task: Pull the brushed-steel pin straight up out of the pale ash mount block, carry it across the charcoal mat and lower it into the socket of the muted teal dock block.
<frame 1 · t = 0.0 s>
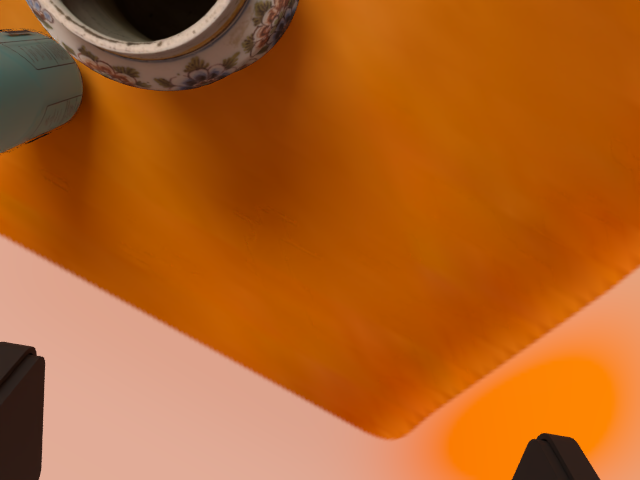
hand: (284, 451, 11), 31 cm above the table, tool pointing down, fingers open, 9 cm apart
beverage bottle: (49, 79, 38), on the table
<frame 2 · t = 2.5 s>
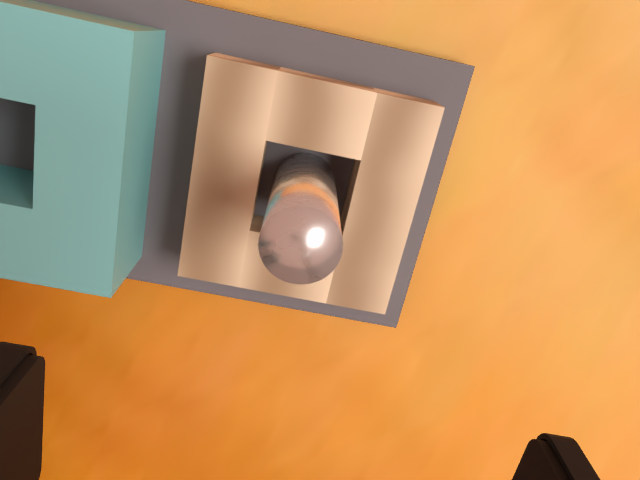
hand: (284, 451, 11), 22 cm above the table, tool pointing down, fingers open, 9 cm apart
teal dock: (34, 127, 28), resting on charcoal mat
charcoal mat: (178, 149, 30), on the table
steel pin: (303, 209, 25), in the ash mount, point 6 cm above the table, touching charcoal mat
ash mount: (304, 189, 28), on the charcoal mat, point 3 cm above the table
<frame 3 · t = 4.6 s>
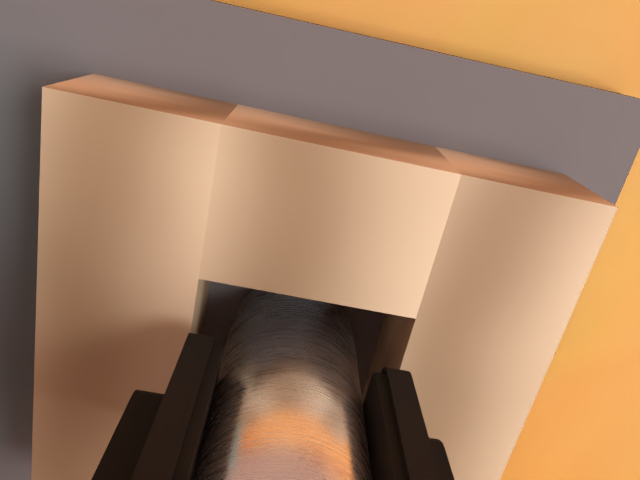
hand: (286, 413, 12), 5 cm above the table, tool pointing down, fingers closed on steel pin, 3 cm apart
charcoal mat: (46, 258, 15), on the table
steel pin: (283, 455, 10), in the ash mount, point 6 cm above the table, touching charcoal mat, gripper
ash mount: (290, 357, 13), on the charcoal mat, point 3 cm above the table
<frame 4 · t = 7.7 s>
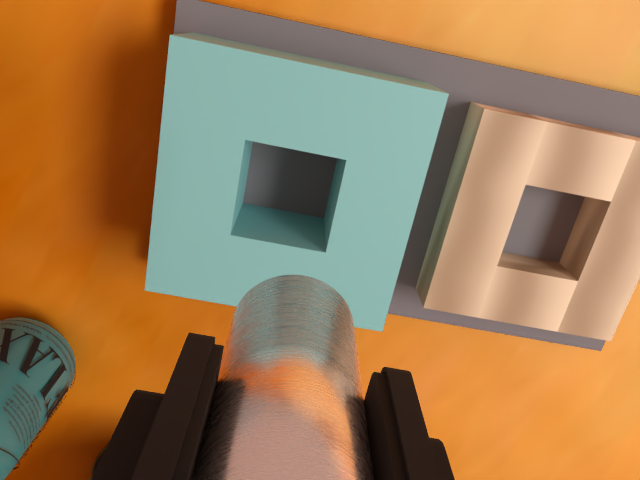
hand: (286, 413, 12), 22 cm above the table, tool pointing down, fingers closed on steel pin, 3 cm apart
teal dock: (291, 171, 30), resting on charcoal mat
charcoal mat: (411, 187, 32), on the table
beverage bottle: (38, 344, 36), on the table
steel pin: (285, 453, 10), point 23 cm above the table, touching gripper
ash mount: (543, 226, 30), on the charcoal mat, point 2 cm above the table
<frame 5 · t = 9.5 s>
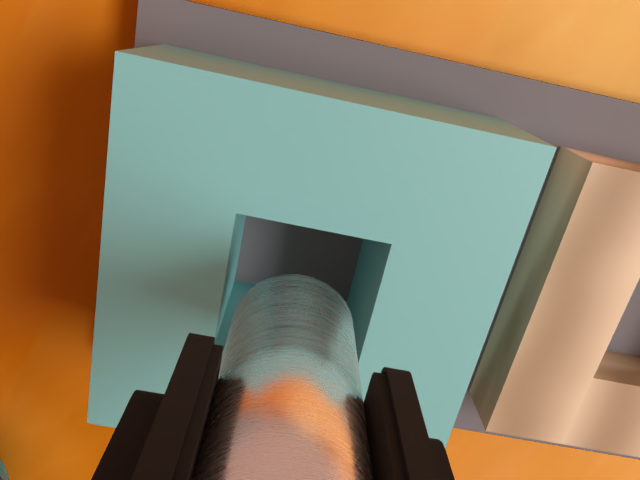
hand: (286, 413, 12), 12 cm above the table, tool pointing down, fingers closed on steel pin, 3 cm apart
teal dock: (302, 238, 21), resting on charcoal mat
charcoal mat: (465, 257, 23), on the table
steel pin: (284, 453, 10), point 13 cm above the table, touching gripper
when the fingers open (7 cm above the table, at t = 11.1 s): steel pin drops 3 cm, resting on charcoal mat.
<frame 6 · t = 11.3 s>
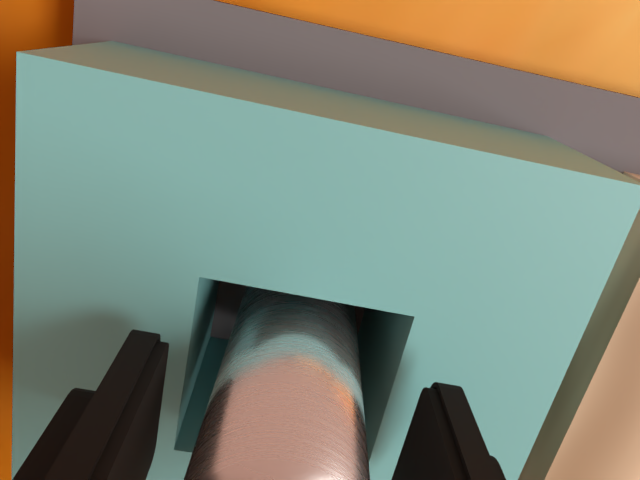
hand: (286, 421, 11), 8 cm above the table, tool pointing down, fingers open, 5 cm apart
teal dock: (294, 286, 17), resting on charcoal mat
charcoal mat: (495, 303, 19), on the table
steel pin: (291, 372, 13), in the teal dock, point 6 cm above the table, touching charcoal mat
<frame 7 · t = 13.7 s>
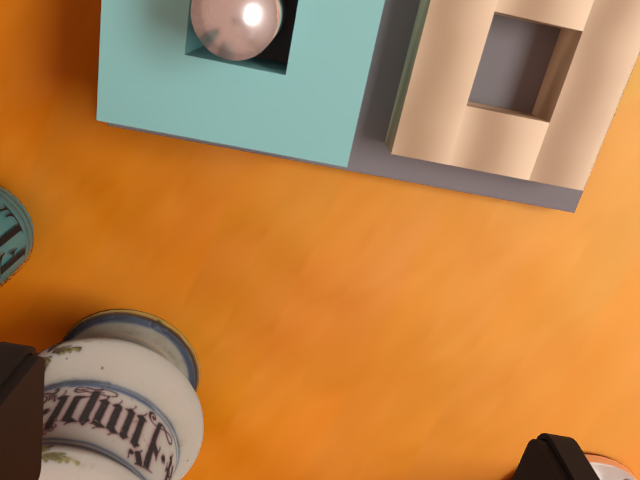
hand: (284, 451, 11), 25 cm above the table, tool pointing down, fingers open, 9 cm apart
teal dock: (252, 9, 29), resting on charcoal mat
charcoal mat: (378, 35, 31), on the table
steel pin: (246, 12, 25), in the teal dock, point 6 cm above the table, touching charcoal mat
ash mount: (514, 66, 29), on the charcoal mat, point 2 cm above the table
apothecary jar: (131, 367, 39), on the table
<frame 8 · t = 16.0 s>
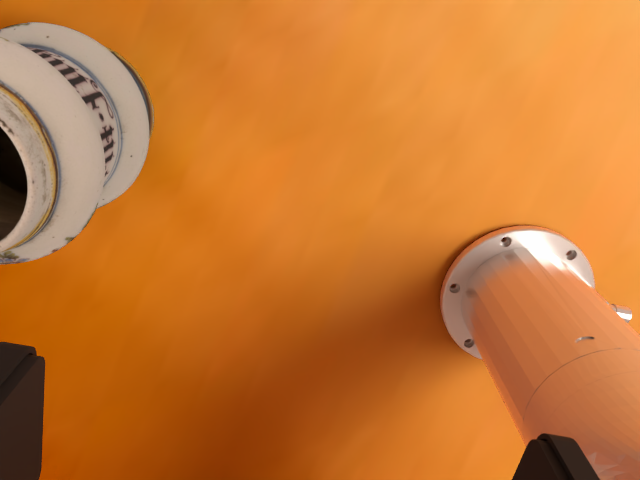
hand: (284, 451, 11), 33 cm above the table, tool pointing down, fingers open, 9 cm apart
apothecary jar: (88, 109, 41), on the table
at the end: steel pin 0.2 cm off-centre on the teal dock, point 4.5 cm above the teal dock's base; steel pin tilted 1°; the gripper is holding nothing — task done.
